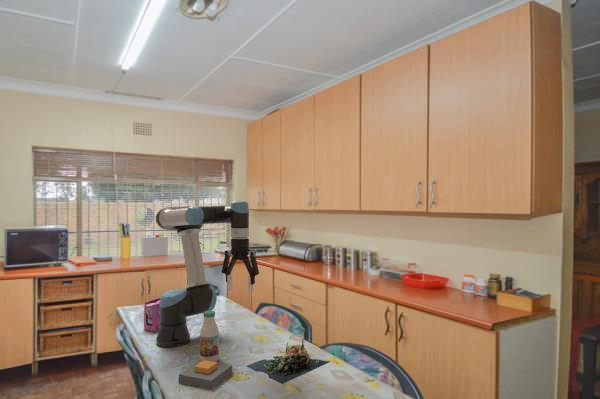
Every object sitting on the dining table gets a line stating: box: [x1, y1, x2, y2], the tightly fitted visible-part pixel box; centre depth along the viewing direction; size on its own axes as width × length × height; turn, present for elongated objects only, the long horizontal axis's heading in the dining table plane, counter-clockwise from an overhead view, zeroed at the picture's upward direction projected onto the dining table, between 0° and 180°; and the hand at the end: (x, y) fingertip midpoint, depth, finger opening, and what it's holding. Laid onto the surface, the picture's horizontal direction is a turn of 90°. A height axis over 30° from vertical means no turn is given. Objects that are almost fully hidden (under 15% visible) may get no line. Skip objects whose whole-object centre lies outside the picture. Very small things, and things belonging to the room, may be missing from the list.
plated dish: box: [245, 338, 332, 384], centre depth 162 cm, size 35×28×7 cm
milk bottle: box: [199, 310, 220, 362], centre depth 165 cm, size 8×8×20 cm
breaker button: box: [194, 360, 218, 375], centre depth 149 cm, size 6×6×2 cm
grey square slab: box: [178, 359, 233, 390], centre depth 149 cm, size 14×14×3 cm
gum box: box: [143, 297, 160, 332], centre depth 213 cm, size 24×8×14 cm, turn 158°
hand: (240, 291), depth 169 cm, fingers open, 9 cm apart
